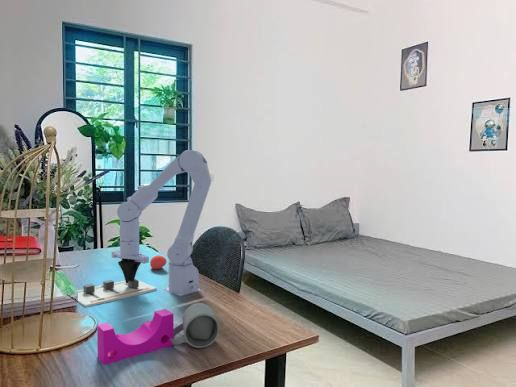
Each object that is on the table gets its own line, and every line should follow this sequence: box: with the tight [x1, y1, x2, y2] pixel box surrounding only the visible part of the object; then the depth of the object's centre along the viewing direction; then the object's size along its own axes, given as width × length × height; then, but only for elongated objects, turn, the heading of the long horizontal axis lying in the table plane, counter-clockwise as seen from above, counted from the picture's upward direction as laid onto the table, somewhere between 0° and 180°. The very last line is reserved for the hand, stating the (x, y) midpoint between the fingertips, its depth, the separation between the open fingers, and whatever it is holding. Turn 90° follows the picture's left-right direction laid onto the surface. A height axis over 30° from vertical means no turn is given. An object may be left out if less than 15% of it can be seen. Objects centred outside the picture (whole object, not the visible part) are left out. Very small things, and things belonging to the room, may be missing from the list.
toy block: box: [96, 308, 175, 365], centre depth 84 cm, size 15×6×8 cm, turn 129°
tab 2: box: [102, 279, 115, 289], centre depth 120 cm, size 2×2×2 cm
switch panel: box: [76, 278, 158, 308], centre depth 119 cm, size 14×22×2 cm, turn 136°
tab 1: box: [82, 283, 96, 294], centre depth 116 cm, size 2×2×2 cm
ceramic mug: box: [170, 302, 220, 349], centre depth 87 cm, size 11×8×8 cm
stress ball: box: [149, 255, 167, 270], centre depth 146 cm, size 5×9×6 cm, turn 27°
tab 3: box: [128, 278, 140, 288], centre depth 122 cm, size 2×2×2 cm
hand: (129, 282), depth 123 cm, fingers closed
